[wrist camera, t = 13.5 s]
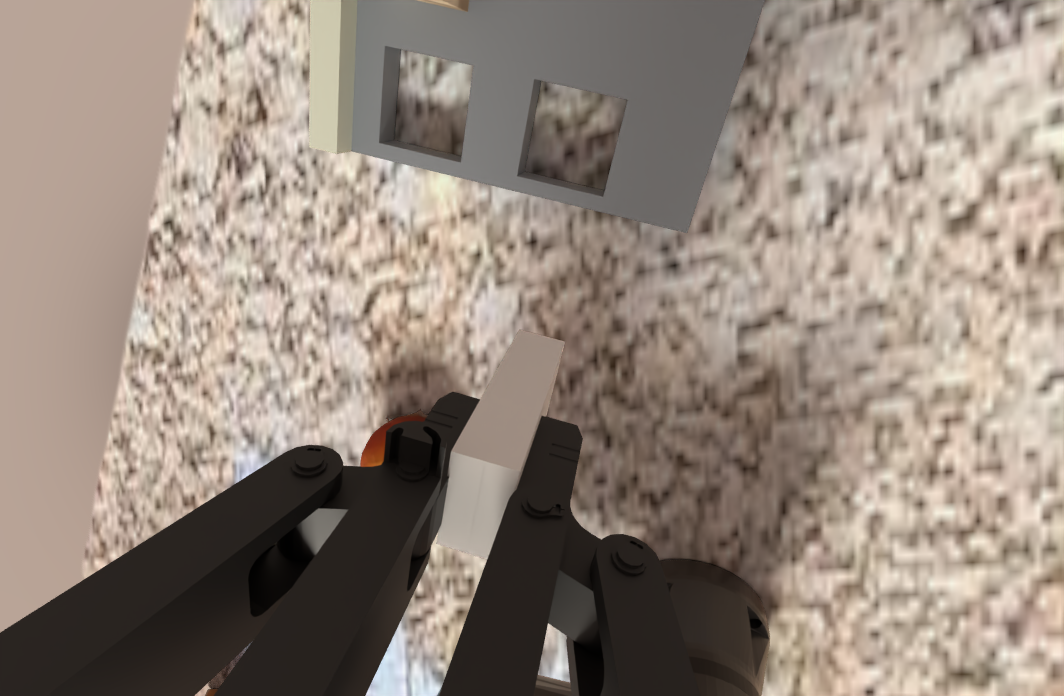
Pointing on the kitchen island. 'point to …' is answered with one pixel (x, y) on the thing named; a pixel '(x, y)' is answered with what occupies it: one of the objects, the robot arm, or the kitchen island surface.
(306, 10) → the kitchen island surface
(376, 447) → the fruit
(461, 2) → the block
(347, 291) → the kitchen island surface
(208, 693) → the pancake mix bag
